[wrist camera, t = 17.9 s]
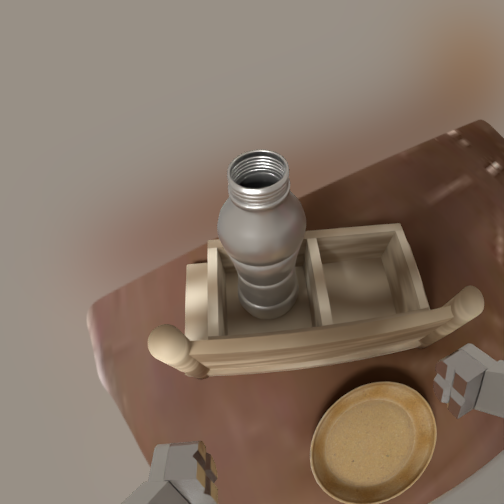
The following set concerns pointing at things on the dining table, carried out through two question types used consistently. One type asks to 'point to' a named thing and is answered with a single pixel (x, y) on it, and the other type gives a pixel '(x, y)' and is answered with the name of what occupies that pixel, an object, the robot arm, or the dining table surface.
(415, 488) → the dining table surface
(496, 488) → the robot arm
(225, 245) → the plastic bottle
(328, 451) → the plant saucer
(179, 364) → the wooden compartment rack
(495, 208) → the dining table surface
